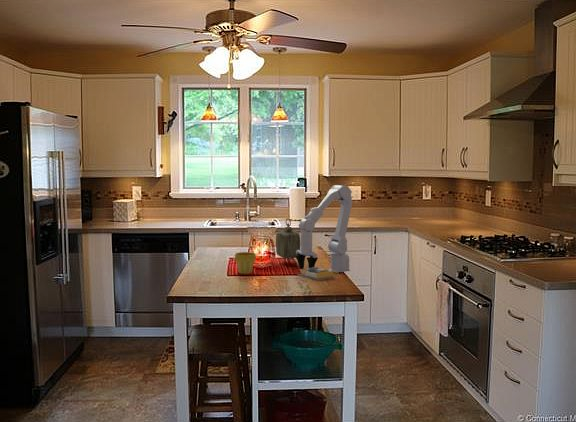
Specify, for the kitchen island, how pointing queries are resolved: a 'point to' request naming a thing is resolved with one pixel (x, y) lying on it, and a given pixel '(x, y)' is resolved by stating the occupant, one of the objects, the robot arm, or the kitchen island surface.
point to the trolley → (316, 269)
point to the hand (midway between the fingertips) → (306, 270)
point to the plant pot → (245, 262)
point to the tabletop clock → (287, 243)
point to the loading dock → (318, 275)
